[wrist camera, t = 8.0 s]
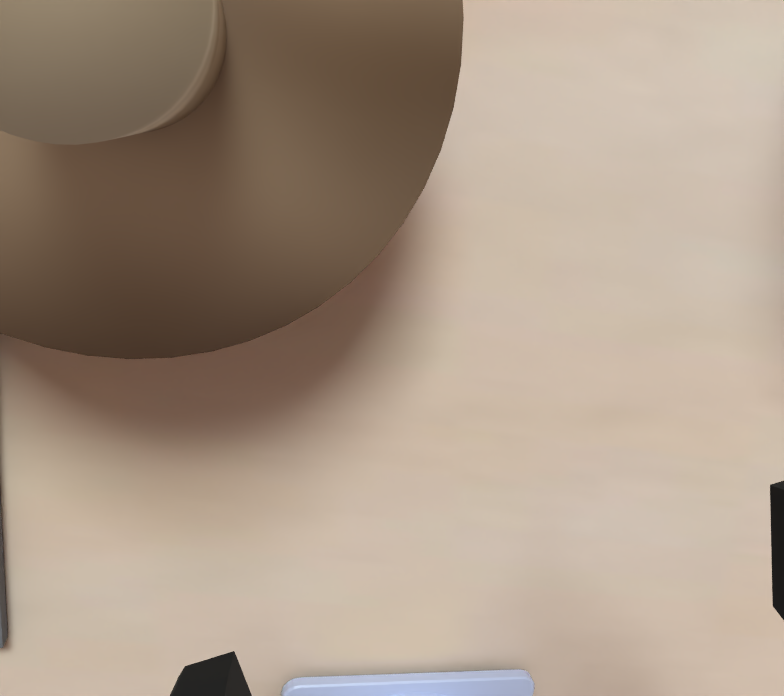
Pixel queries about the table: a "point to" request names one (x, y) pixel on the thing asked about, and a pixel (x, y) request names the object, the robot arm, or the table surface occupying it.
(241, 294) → the lid
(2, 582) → the mat
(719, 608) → the table surface
